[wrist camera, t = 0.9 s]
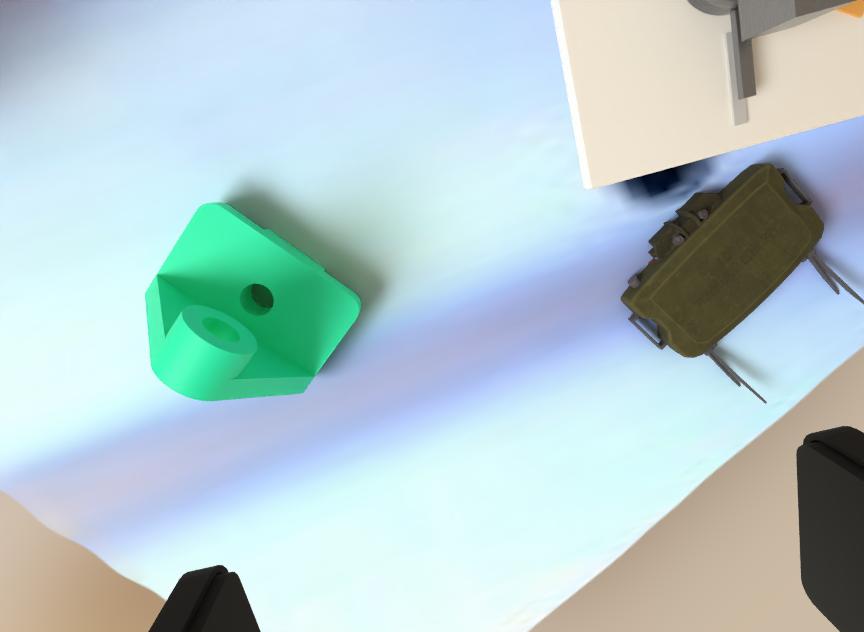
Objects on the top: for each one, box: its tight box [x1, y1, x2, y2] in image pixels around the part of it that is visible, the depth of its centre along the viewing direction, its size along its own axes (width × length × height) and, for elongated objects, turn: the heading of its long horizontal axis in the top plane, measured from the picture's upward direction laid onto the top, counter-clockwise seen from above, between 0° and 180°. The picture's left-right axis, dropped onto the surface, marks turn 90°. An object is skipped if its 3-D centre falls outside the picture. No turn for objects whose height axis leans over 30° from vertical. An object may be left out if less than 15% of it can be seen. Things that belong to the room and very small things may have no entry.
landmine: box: [621, 164, 864, 404], centre depth 35 cm, size 14×3×15 cm
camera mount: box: [145, 203, 361, 401], centre depth 30 cm, size 12×8×10 cm, turn 53°
